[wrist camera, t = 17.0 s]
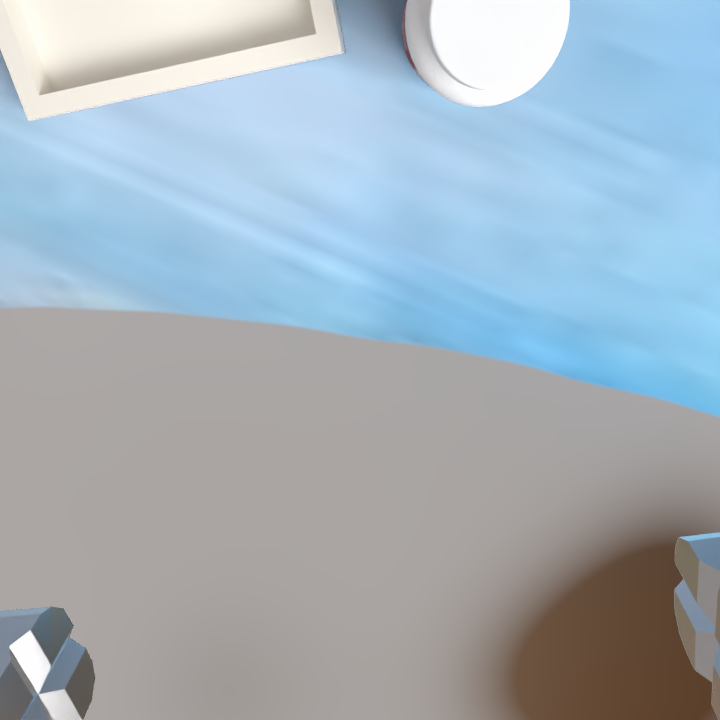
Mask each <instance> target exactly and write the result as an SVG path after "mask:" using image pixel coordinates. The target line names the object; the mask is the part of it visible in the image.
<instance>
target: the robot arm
mask: <svg viewBox="0 0 720 720" xmlns="http://www.w3.org/2000/svg"><path fill="white" fill-rule="evenodd" d="M675 563H676V565H677V567H678V569H679V571H680V573H681V575H682V577H683V578H684V579H683V580H682V581H681V583H680V584H679V585H678V586H677V587H676V588H675V590H674V594H675V596H674V597H675V613H676V618H677V624H678V629H679V633H680V636H681V639H682V642H683V644H684V647H685V650H686V652H687V655H688V657H689V658H690V661H691V663H692V665H693V667H694V669H695V671H697V672H698V673H700V674H701V675H702V676H704V677H706V678H707V679H708V680H710V681H711V682H712V707H713V709H714V711H715V713H716V715H717V717H718V719H719V720H720V532H719V533H712V534H703V535H694V536H686V537H679V538H678V541H677V543H676V546H675ZM73 626H74V625H73V623H72V622H71V620H70V618H69V617H68V615H67V613H66V612H65V610H64V609H63V608H58V607H41V608H29V609H16V610H4V611H0V720H83V719H84V717H85V715H86V713H87V710H88V708H89V706H90V704H91V701H92V696H93V690H94V683H95V673H94V667H93V662H92V659H91V658H90V655H89V653H88V651H87V649H86V648H85V647H83V646H81V645H80V644H79V643H77V642H76V641H74V640H72V639H71V638H70V635H71V632H72V629H73Z"/></svg>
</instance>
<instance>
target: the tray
mask: <svg viewBox="0 0 720 720" xmlns="http://www.w3.org/2000/svg"><path fill="white" fill-rule="evenodd" d="M0 50H1V52H2V55H3V57H4V60H5V62H6V65H7V67H8V70H9V73H10V75H11V78H12V80H13V83H14V85H15V88H16V91H17V93H18V96H19V98H20V101H21V103H22V106H23V109H24V111H25V114H26V116H27V119H28V121H31V120H37V119H42V118H48V117H53V116H58V115H63V114H67V113H72V112H77V111H81V110H86V109H90V108H95V107H100V106H104V105H109V104H113V103H118V102H123V101H127V100H132V99H136V98H141V97H146V96H150V95H155V94H160V93H164V92H169V91H173V90H178V89H183V88H187V87H192V86H196V85H201V84H206V83H210V82H215V81H219V80H224V79H229V78H233V77H238V76H242V75H247V74H252V73H256V72H261V71H266V70H270V69H275V68H279V67H284V66H289V65H293V64H298V63H302V62H307V61H312V60H316V59H321V58H325V57H330V56H335V55H339V54H344V53H346V52H345V46H344V41H343V35H342V30H341V25H340V19H339V14H338V8H337V3H336V0H0Z"/></svg>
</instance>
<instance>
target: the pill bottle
mask: <svg viewBox="0 0 720 720" xmlns="http://www.w3.org/2000/svg"><path fill="white" fill-rule="evenodd" d="M569 10H570V2H569V0H407V1H406V4H405V8H404V13H403V19H402V37H403V44H404V48H405V51H406V55H407V57H408V59H409V61H410V64H411V65H412V67H413V69H414V70H415V72H416V73H417V74H418V75H419V76H420V78H421V79H422V80H423V81H425V82H426V83H427V84H428V85H429V86H430V87H431V88H432V89H433V90H434V91H436V92H437V93H438V94H440V95H441V96H443V97H445V98H447V99H448V100H451V101H453V102H456V103H459V104H462V105H467V106H475V107H484V106H492V105H497V104H501V103H504V102H507V101H509V100H512V99H514V98H516V97H518V96H520V95H522V94H523V93H525V92H526V91H528V90H529V89H530V88H532V87H533V86H534V85H535V84H536V83H537V82H538V81H539V80H540V79H541V78H542V77H543V76H544V75H545V74H546V72H547V71H548V70H549V68H550V67H551V66H552V64H553V63H554V61H555V59H556V57H557V55H558V53H559V51H560V49H561V47H562V44H563V41H564V38H565V35H566V31H567V27H568V22H569Z"/></svg>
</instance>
